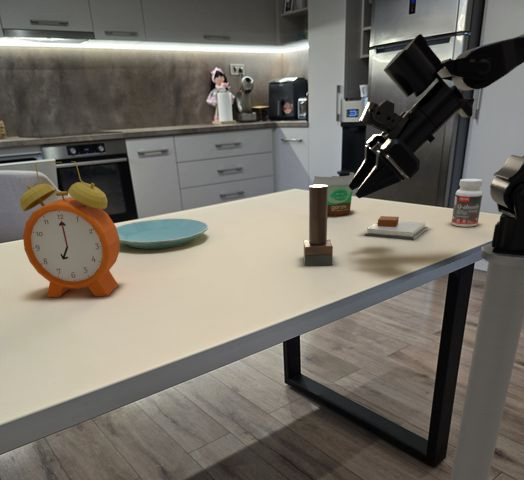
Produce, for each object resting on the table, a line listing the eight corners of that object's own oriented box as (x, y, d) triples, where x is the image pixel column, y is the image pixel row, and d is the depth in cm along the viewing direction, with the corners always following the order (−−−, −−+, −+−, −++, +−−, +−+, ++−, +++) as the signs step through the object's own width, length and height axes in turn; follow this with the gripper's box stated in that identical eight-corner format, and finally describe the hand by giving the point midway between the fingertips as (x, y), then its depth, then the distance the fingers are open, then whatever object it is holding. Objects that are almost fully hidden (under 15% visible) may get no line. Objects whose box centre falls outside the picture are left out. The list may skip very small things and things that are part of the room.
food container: (325, 219, 123) (326, 178, 118) (312, 215, 128) (312, 176, 123) (364, 213, 128) (366, 173, 123) (350, 210, 133) (351, 171, 128)
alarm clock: (35, 298, 77) (0, 166, 68) (52, 286, 83) (21, 162, 74) (116, 296, 76) (91, 162, 67) (127, 284, 82) (106, 158, 73)
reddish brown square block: (398, 223, 109) (398, 216, 108) (395, 227, 105) (396, 220, 105) (380, 222, 110) (380, 216, 109) (377, 226, 107) (377, 219, 106)
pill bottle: (453, 227, 109) (459, 181, 105) (449, 222, 114) (454, 178, 110) (480, 227, 108) (487, 181, 104) (474, 222, 113) (481, 177, 109)
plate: (226, 241, 106) (225, 228, 105) (128, 259, 96) (125, 245, 94) (185, 225, 123) (184, 214, 122) (99, 239, 113) (96, 227, 112)
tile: (427, 229, 109) (428, 222, 108) (413, 240, 101) (414, 232, 100) (380, 225, 114) (381, 219, 114) (363, 235, 106) (364, 228, 105)
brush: (330, 257, 91) (331, 183, 85) (332, 265, 87) (334, 187, 81) (303, 258, 92) (303, 184, 86) (304, 265, 87) (304, 188, 81)
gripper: (381, 83, 84) (317, 153, 90) (405, 77, 67) (325, 163, 73) (422, 131, 87) (358, 196, 93) (454, 136, 70) (373, 215, 76)
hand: (353, 192), depth 83 cm, fingers open, 9 cm apart
